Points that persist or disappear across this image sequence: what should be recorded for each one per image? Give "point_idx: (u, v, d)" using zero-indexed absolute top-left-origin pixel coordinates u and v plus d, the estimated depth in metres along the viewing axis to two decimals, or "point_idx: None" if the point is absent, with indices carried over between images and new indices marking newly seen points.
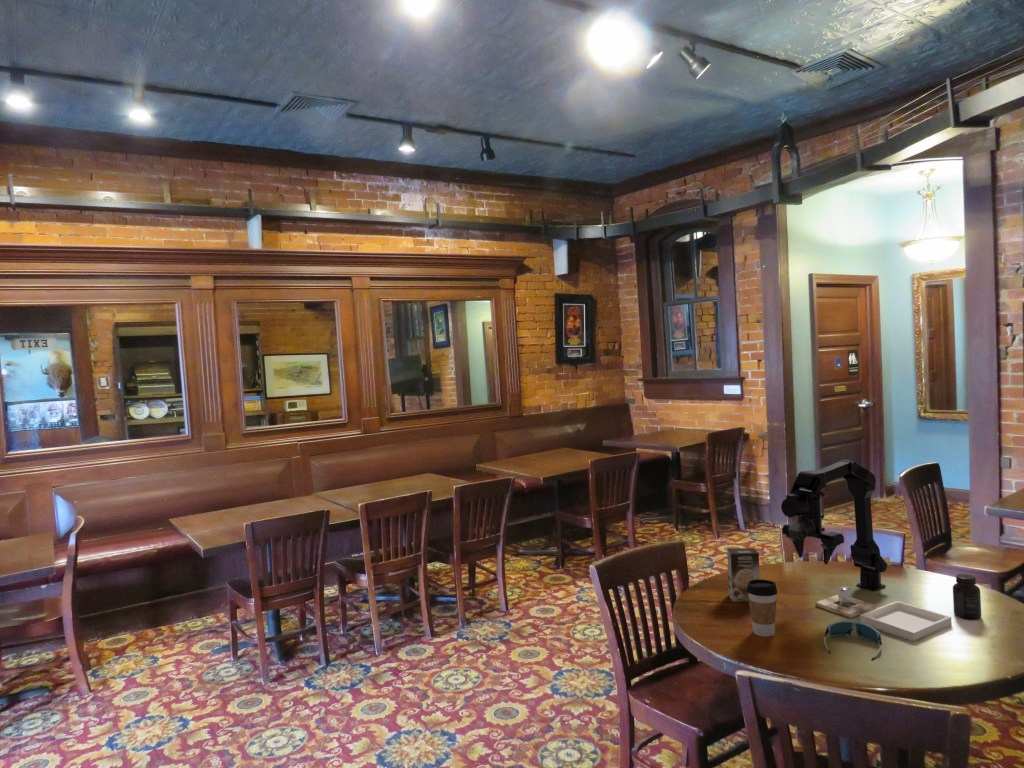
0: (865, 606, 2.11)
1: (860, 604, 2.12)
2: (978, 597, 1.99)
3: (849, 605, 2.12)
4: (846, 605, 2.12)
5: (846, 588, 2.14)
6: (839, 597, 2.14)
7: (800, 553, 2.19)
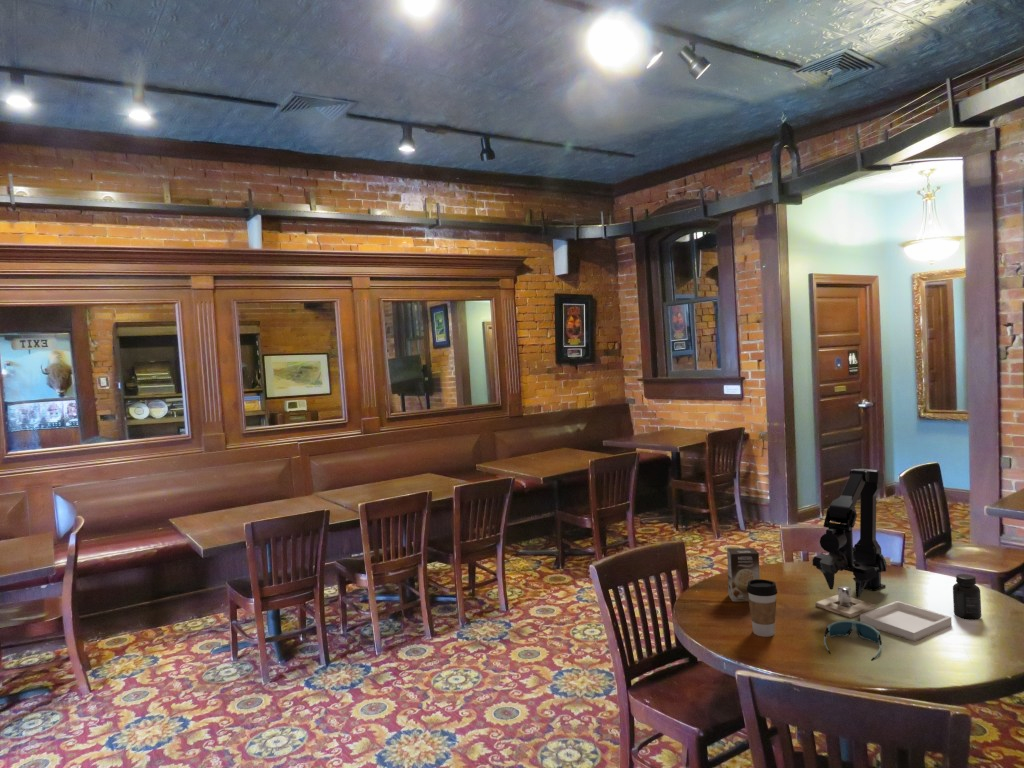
0: (865, 606, 2.11)
1: (860, 604, 2.12)
2: (978, 597, 1.99)
3: (849, 605, 2.12)
4: (846, 605, 2.12)
5: (846, 588, 2.14)
6: (839, 597, 2.14)
7: (831, 585, 2.17)
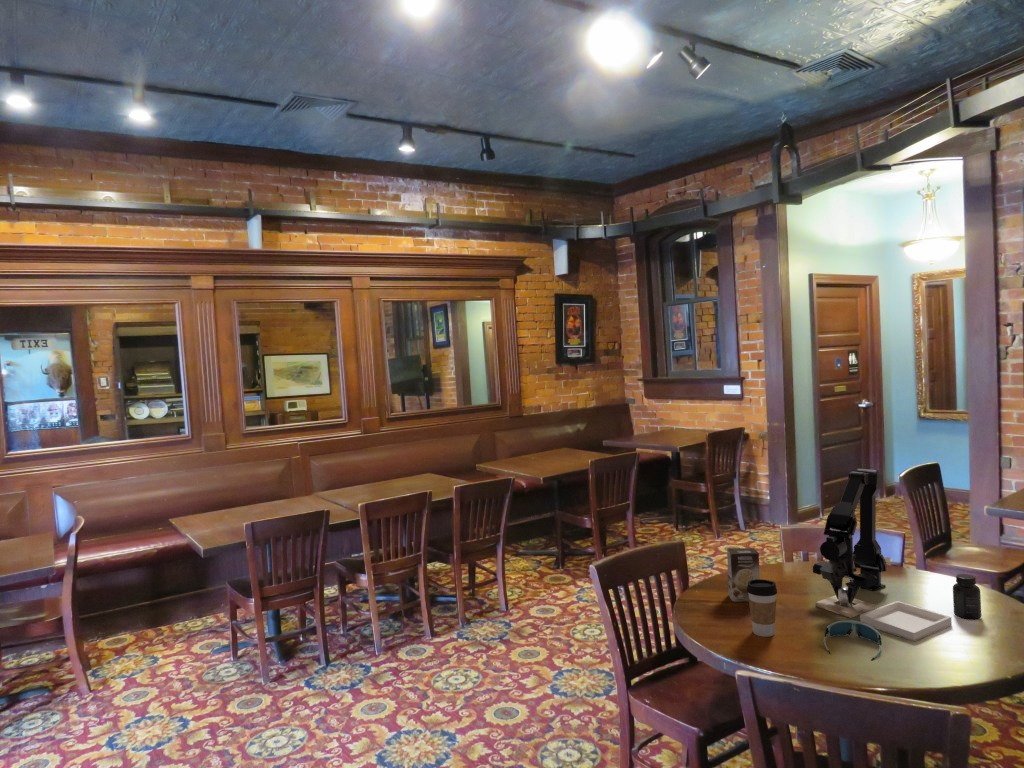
0: (865, 606, 2.11)
1: (860, 604, 2.12)
2: (978, 597, 1.99)
3: (849, 605, 2.12)
4: (846, 605, 2.12)
5: (846, 588, 2.14)
6: (839, 597, 2.14)
7: None
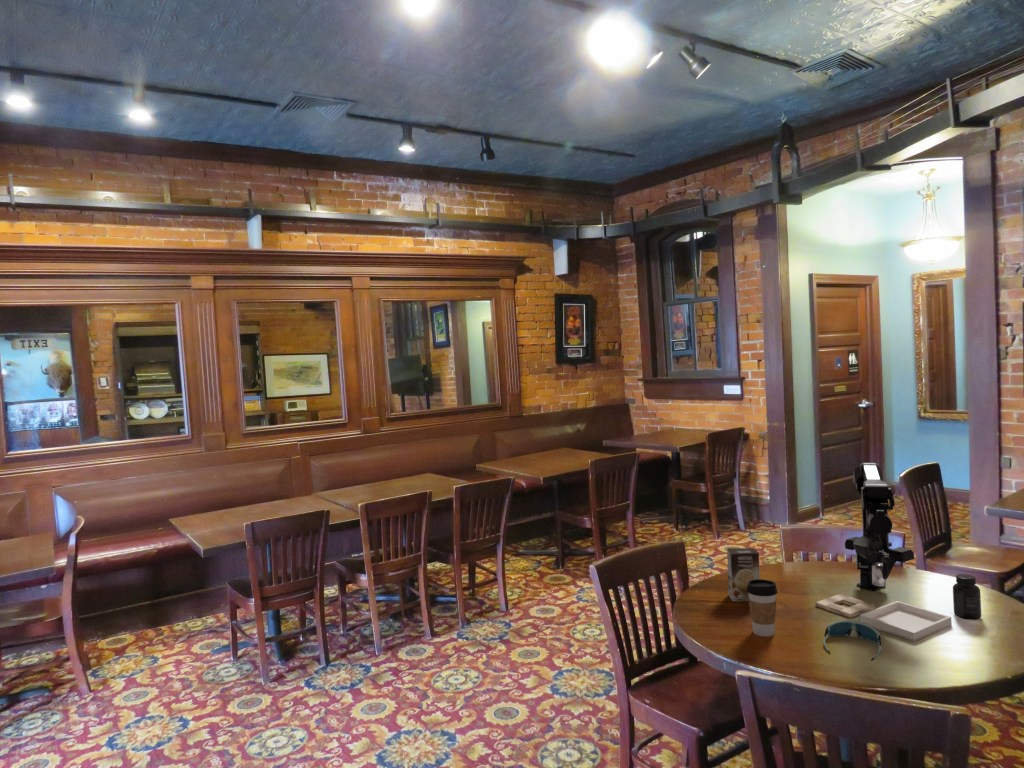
0: (865, 606, 2.11)
1: (860, 604, 2.12)
2: (978, 597, 1.99)
3: (884, 582, 2.02)
4: (880, 581, 2.02)
5: (880, 563, 2.04)
6: (873, 573, 2.04)
7: None
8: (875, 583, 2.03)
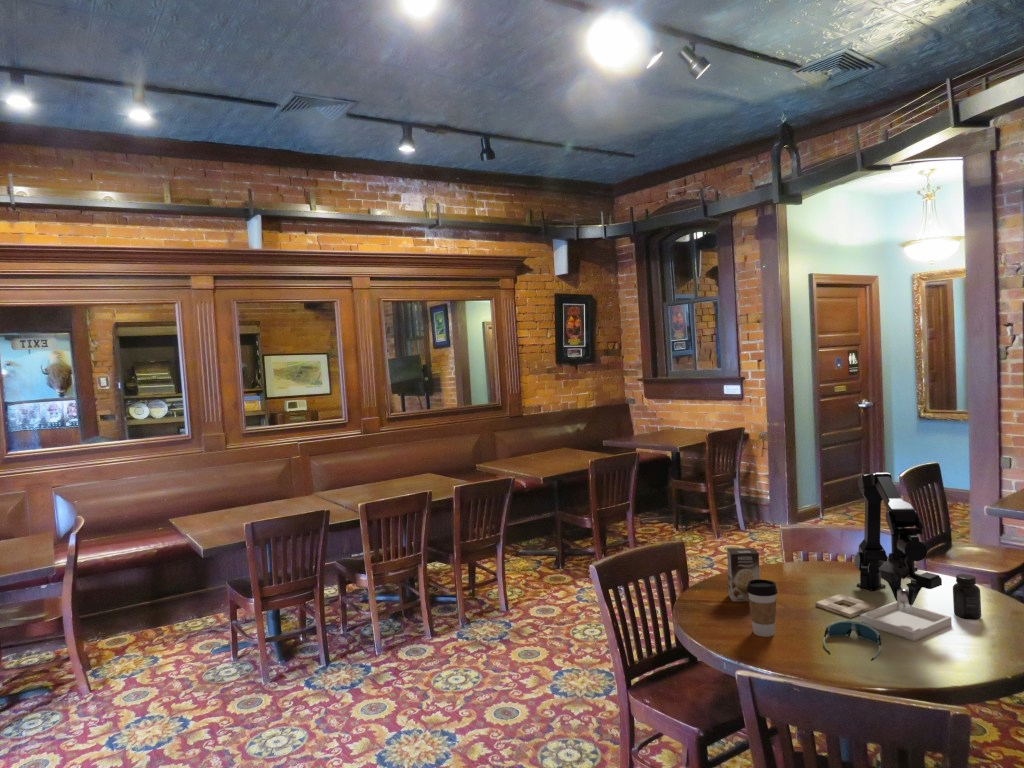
0: (865, 606, 2.11)
1: (860, 604, 2.12)
2: (978, 597, 1.99)
3: (909, 607, 1.97)
4: (906, 607, 1.97)
5: (905, 588, 1.99)
6: (898, 599, 1.99)
7: None
8: (901, 609, 1.98)
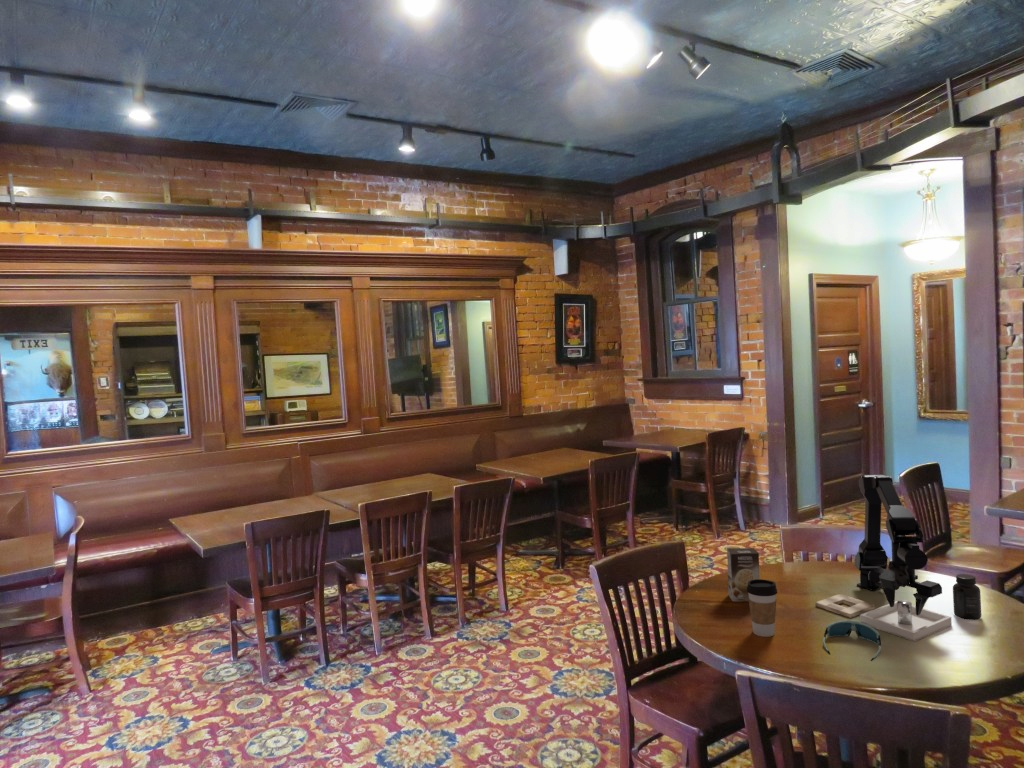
0: (865, 606, 2.11)
1: (860, 604, 2.12)
2: (978, 597, 1.99)
3: (910, 620, 1.97)
4: (907, 620, 1.97)
5: (906, 601, 1.99)
6: (899, 611, 1.99)
7: (891, 602, 2.02)
8: (901, 622, 1.98)
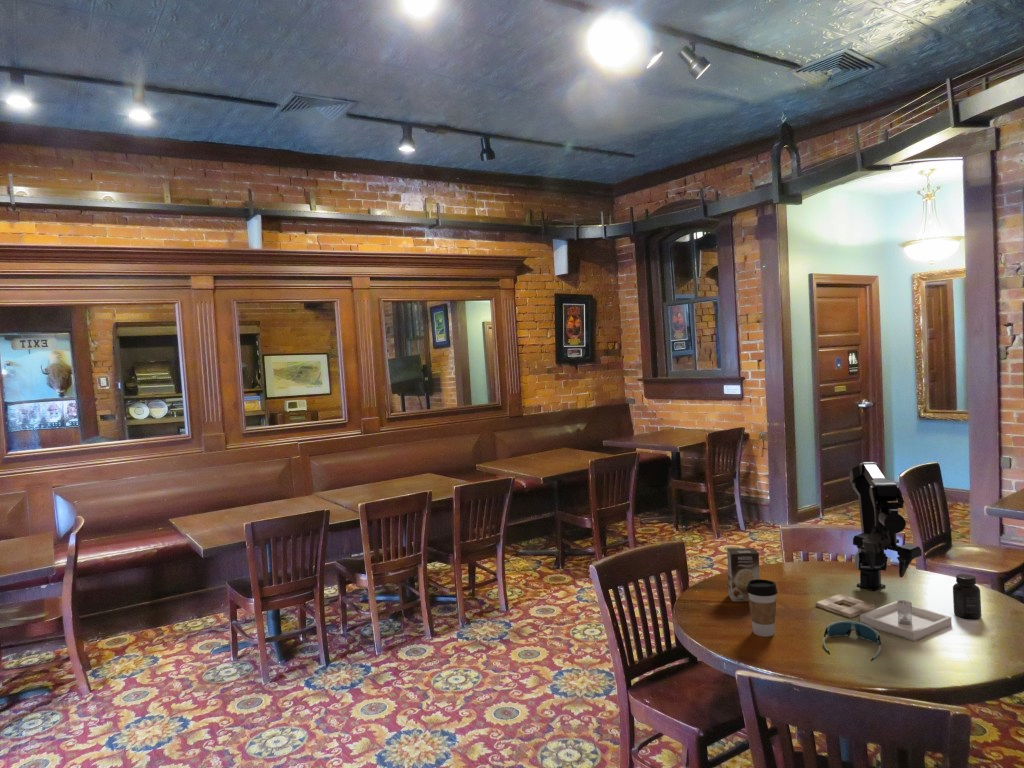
0: (865, 606, 2.11)
1: (860, 604, 2.12)
2: (978, 597, 1.99)
3: (910, 620, 1.97)
4: (907, 620, 1.97)
5: (906, 601, 1.99)
6: (899, 612, 1.99)
7: (872, 565, 2.13)
8: (901, 622, 1.98)
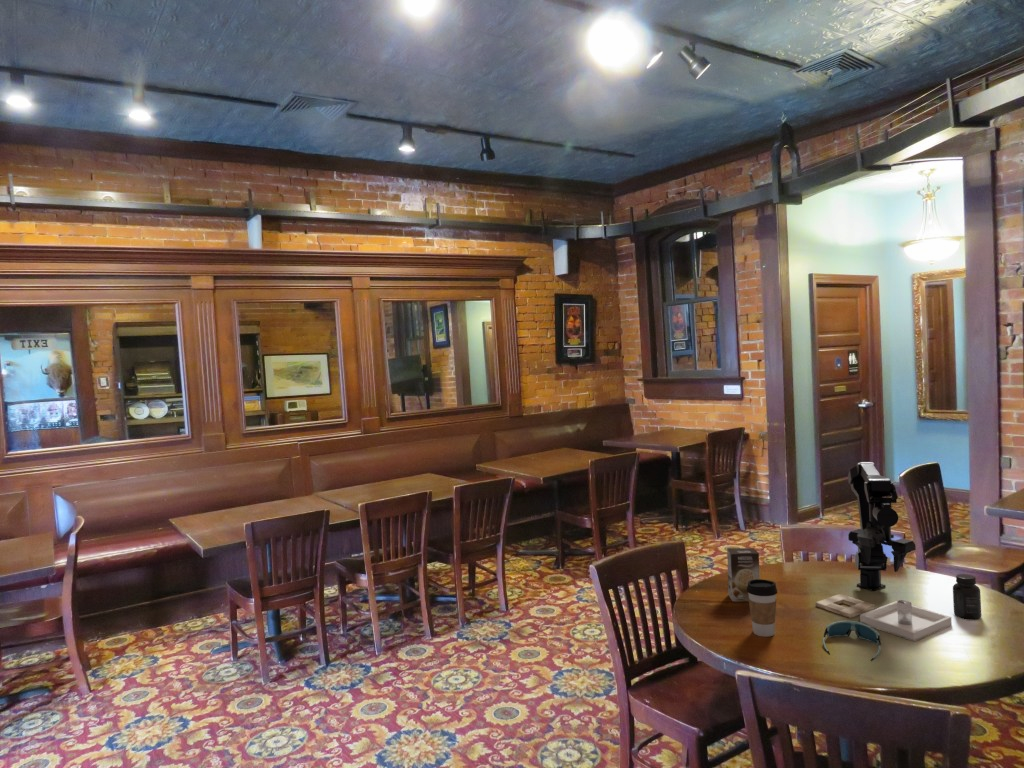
0: (865, 606, 2.11)
1: (860, 604, 2.12)
2: (978, 597, 1.99)
3: (910, 620, 1.97)
4: (907, 620, 1.97)
5: (906, 601, 1.99)
6: (899, 612, 1.99)
7: (867, 560, 2.16)
8: (901, 622, 1.98)
